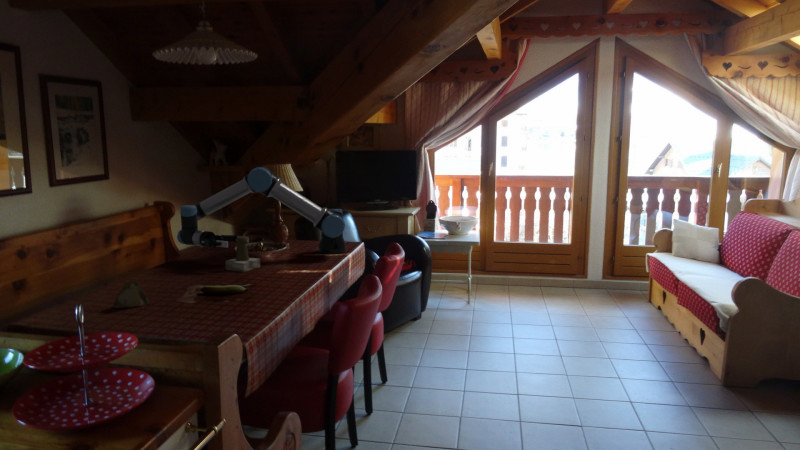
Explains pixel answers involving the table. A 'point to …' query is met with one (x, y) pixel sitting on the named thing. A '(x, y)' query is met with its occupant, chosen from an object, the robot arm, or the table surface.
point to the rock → (130, 296)
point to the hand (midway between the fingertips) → (238, 242)
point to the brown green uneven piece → (212, 291)
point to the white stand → (242, 264)
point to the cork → (241, 249)
